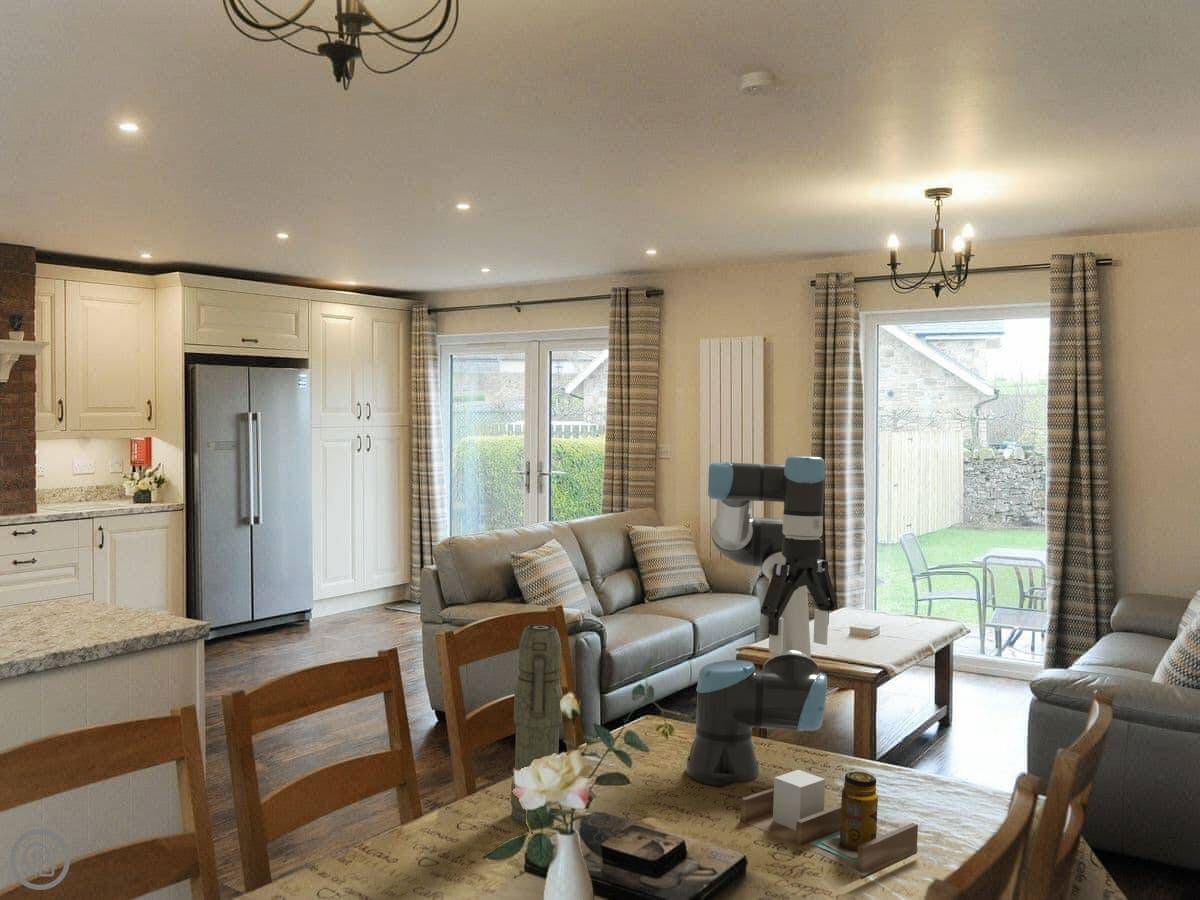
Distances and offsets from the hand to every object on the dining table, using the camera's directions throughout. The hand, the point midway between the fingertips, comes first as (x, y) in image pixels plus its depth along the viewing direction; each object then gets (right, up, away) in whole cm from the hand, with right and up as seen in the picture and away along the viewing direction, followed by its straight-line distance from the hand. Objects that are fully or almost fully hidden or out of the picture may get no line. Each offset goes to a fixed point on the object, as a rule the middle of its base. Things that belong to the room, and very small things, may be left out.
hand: (798, 647), depth 185 cm
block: (-2, -30, -9) cm, 31 cm away
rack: (+2, -31, -14) cm, 34 cm away
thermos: (-50, -30, -8) cm, 59 cm away
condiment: (+6, -30, -19) cm, 36 cm away
